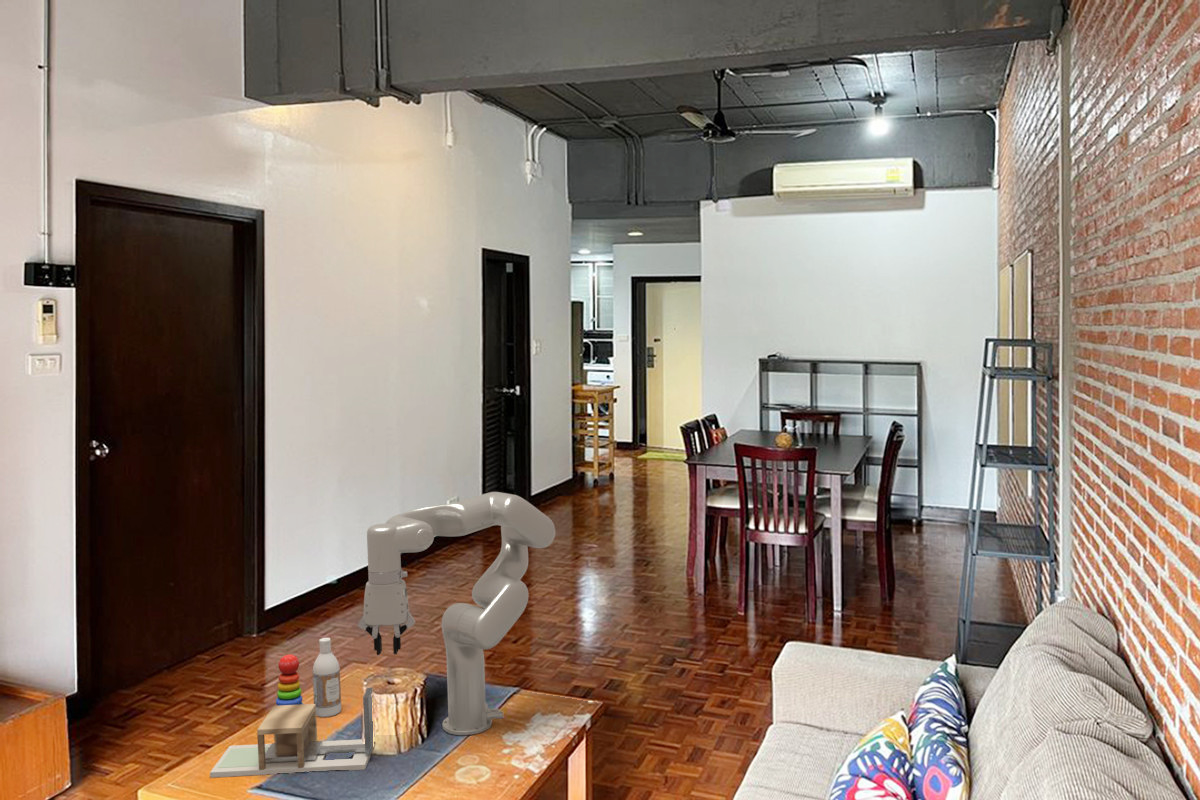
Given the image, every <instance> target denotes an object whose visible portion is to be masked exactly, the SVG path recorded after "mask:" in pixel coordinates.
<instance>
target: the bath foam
mask: <svg viewBox="0 0 1200 800" xmlns="http://www.w3.org/2000/svg"><path fill="white" fill-rule="evenodd" d="M318 641H319V644H318V645H319V654H318V656H317V657H316V659H315V661H314V663H313V666H312V684H313V685H312V687H313V690H312V691H313V704H316V717H320V718H321V717H322V718H327V717H328V718H329V717H333V716H336V715H339V713H340V712H341V711H342V692H341V691H342V689H341V669H340V667H341V666H340V663H339V660H338V659H337V657H336V656H335V655H334V654H333V652H332V641H331V638H330V637H322V638H319V640H318Z"/></svg>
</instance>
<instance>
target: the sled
mask: <svg viewBox="0 0 1200 800" xmlns="http://www.w3.org/2000/svg"><path fill="white" fill-rule="evenodd" d="M372 689H373V687H367V688H366V690H365V692H364V695H363V697H362V705H363V731H364V732H363V733H364V739H365V744H356V745H335V746H322V745H323V741H324V740H317V741H309V744H308V746H307V748H306V750H305V751H304V760H315V759H316V757H317V755H318V754H329V753H349V752H365V755H371V756H372V753H373V751H372V750H374V748H373V721H372V697H371V694H372ZM270 744H271V746H270V747H269V749H268V750H267V752H266V754H265V760H266V762H280V761H298V756H297V755H279V756H277V749H276V743H273V742H272V743H270ZM371 752H372V753H371Z"/></svg>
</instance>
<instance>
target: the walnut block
mask: <svg viewBox="0 0 1200 800" xmlns="http://www.w3.org/2000/svg"><path fill="white" fill-rule="evenodd" d="M303 741H304V751H305V750H306V748H307V746H308V744H309V731H308V723H307V725H306V726H305V728H304V730H303ZM276 749H277V756H279V755H297V734H296V733H286V734H276Z"/></svg>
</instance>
